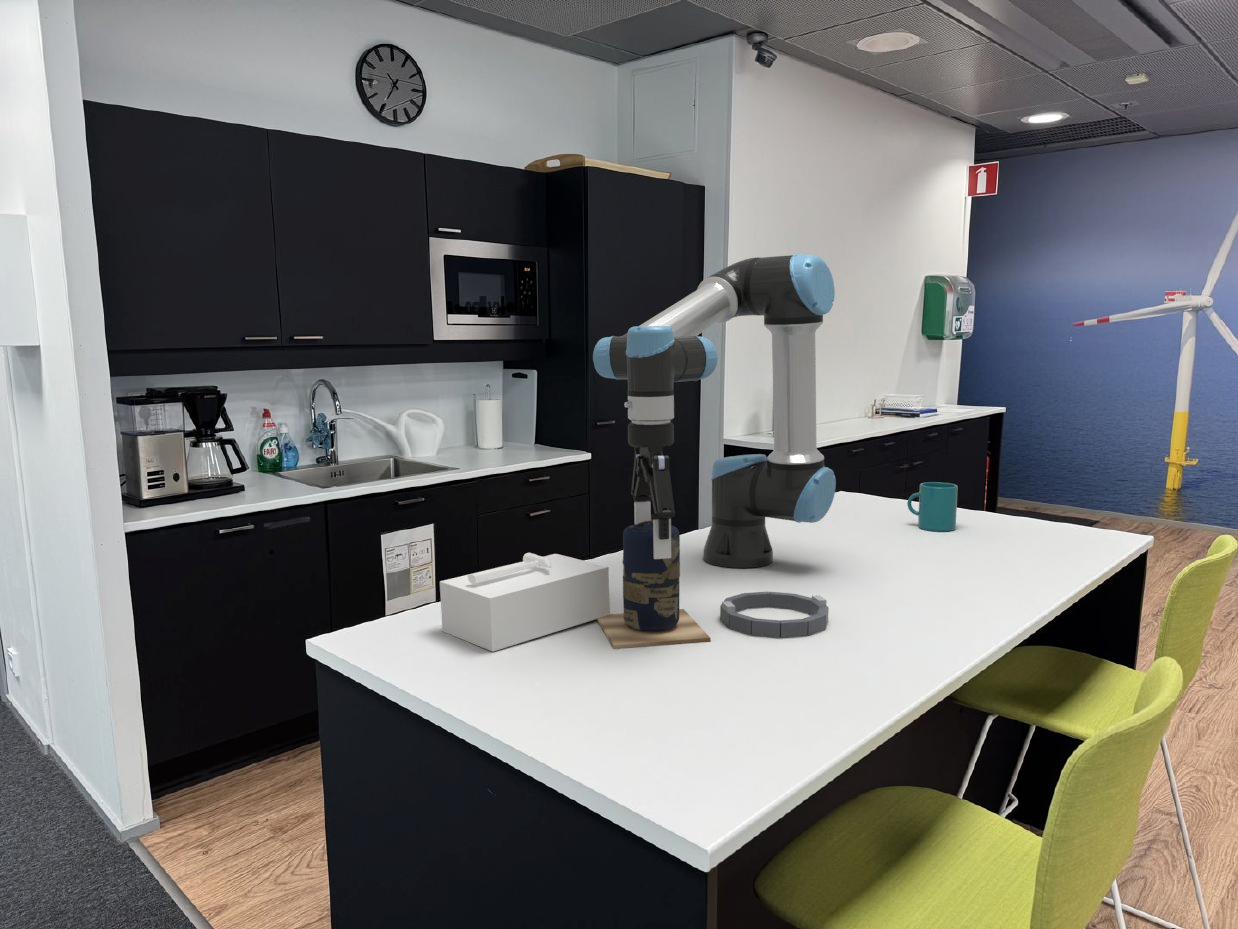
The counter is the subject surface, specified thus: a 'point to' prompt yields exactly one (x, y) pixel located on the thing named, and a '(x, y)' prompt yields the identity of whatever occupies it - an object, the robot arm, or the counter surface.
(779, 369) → the robot arm
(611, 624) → the mat
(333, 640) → the counter surface
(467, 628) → the tissue box
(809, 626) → the collar
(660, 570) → the canister
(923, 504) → the cup
